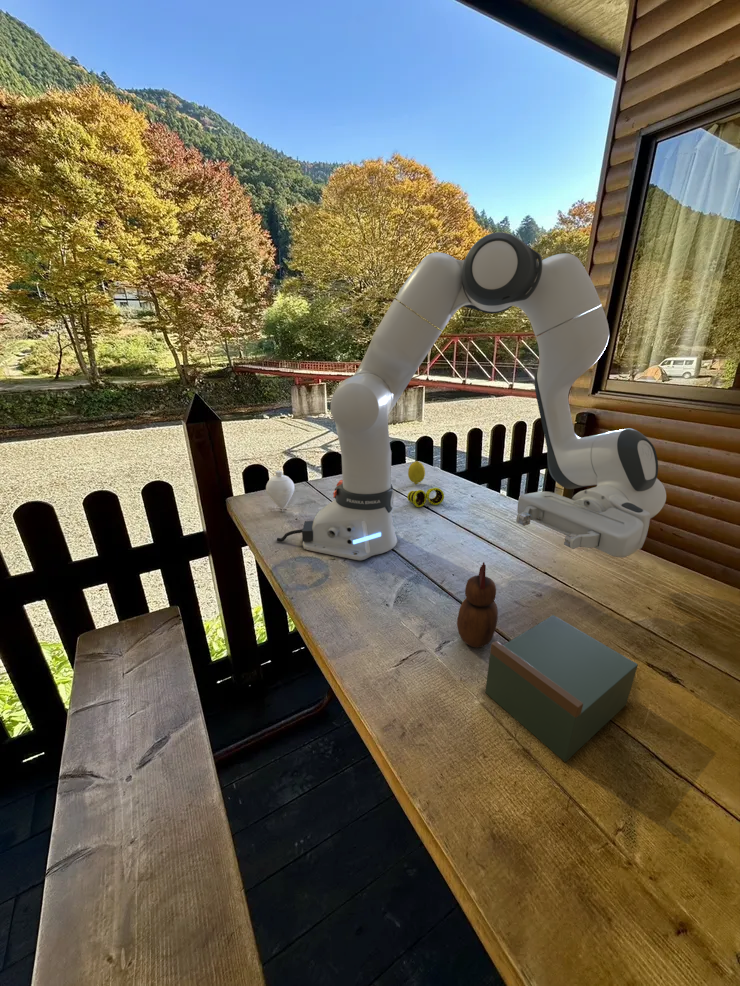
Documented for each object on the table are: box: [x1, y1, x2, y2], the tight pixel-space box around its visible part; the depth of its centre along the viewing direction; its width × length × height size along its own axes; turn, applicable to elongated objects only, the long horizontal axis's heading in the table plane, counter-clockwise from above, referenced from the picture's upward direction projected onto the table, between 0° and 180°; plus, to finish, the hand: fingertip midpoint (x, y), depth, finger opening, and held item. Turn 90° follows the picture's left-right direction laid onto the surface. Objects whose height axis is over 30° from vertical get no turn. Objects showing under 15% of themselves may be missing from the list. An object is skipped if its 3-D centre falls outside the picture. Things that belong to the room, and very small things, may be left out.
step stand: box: [485, 614, 639, 763], centre depth 54 cm, size 12×14×9 cm
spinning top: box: [265, 469, 295, 512], centre depth 113 cm, size 8×8×12 cm
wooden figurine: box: [456, 561, 499, 648], centre depth 64 cm, size 7×6×15 cm
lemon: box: [407, 460, 426, 485], centre depth 134 cm, size 6×6×8 cm
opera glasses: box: [407, 487, 445, 508], centre depth 119 cm, size 10×5×5 cm, turn 108°
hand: (542, 530), depth 66 cm, fingers open, 8 cm apart
